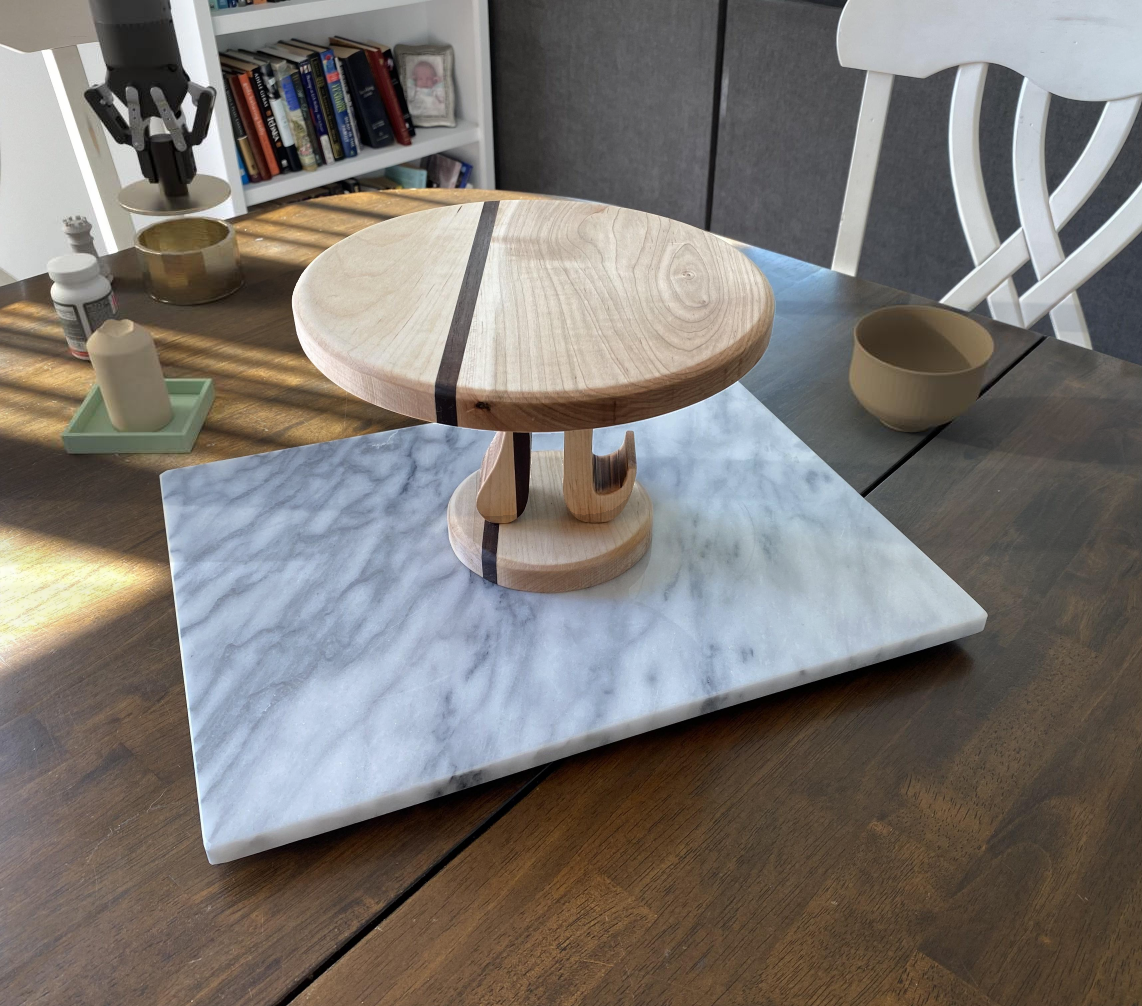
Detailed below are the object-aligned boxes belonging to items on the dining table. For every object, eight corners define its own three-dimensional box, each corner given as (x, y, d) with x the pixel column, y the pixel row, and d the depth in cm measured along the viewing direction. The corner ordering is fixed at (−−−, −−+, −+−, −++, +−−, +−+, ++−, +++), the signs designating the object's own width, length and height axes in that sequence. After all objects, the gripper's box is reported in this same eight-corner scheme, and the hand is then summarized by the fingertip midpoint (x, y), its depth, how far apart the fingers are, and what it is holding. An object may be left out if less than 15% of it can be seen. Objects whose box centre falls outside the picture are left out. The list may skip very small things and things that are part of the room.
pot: (134, 305, 109) (119, 253, 105) (162, 264, 117) (149, 215, 113) (232, 305, 109) (221, 254, 105) (252, 265, 118) (243, 216, 114)
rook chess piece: (107, 272, 115) (88, 209, 110) (119, 285, 112) (100, 221, 107) (69, 282, 113) (48, 217, 108) (81, 295, 110) (60, 230, 105)
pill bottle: (128, 333, 103) (103, 247, 97) (129, 357, 99) (103, 269, 93) (72, 340, 102) (42, 254, 96) (70, 366, 98) (39, 277, 91)
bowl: (809, 405, 96) (828, 316, 89) (902, 378, 100) (927, 292, 94) (895, 471, 87) (923, 378, 81) (992, 439, 92) (1026, 348, 86)
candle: (124, 442, 86) (92, 346, 80) (104, 416, 89) (72, 322, 83) (183, 422, 89) (157, 328, 83) (161, 398, 92) (135, 305, 86)
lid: (104, 221, 102) (84, 155, 97) (138, 181, 111) (122, 120, 107) (218, 222, 102) (203, 156, 98) (242, 182, 112) (231, 121, 108)
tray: (67, 453, 85) (60, 435, 84) (104, 395, 93) (98, 378, 92) (190, 453, 86) (185, 435, 85) (216, 395, 94) (212, 378, 93)
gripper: (46, 18, 91) (97, 193, 102) (192, 21, 92) (227, 194, 103) (74, 3, 97) (119, 169, 108) (211, 5, 98) (242, 170, 109)
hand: (172, 180), depth 105 cm, fingers closed on lid, 3 cm apart
